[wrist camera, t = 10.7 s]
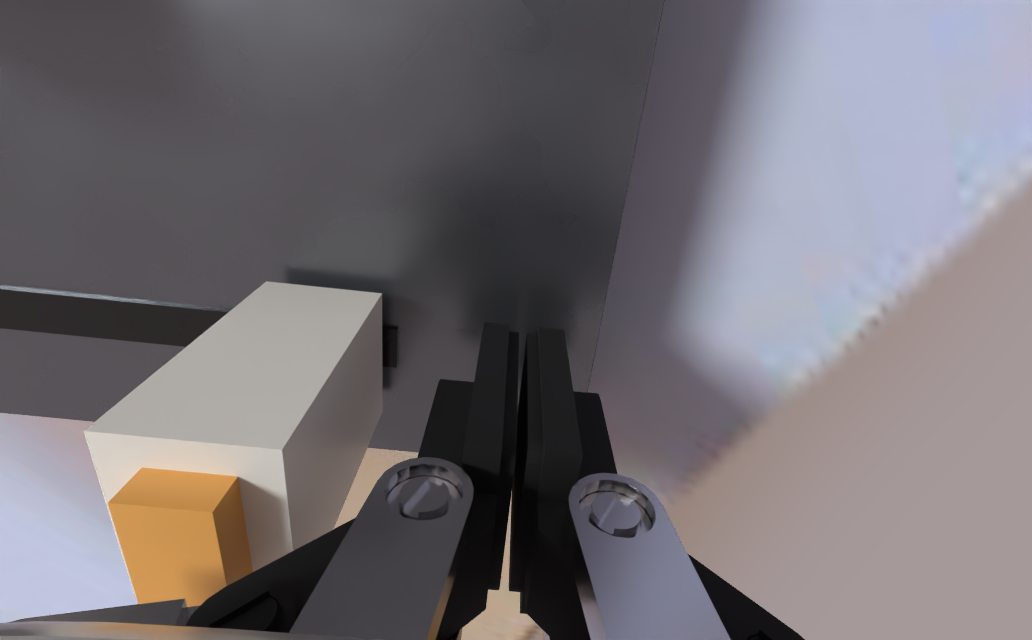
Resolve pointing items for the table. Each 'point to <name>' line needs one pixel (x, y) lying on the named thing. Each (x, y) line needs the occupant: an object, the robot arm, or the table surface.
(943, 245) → the table surface
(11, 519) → the table surface
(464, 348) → the grey slider panel
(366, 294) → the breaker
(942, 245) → the table surface
